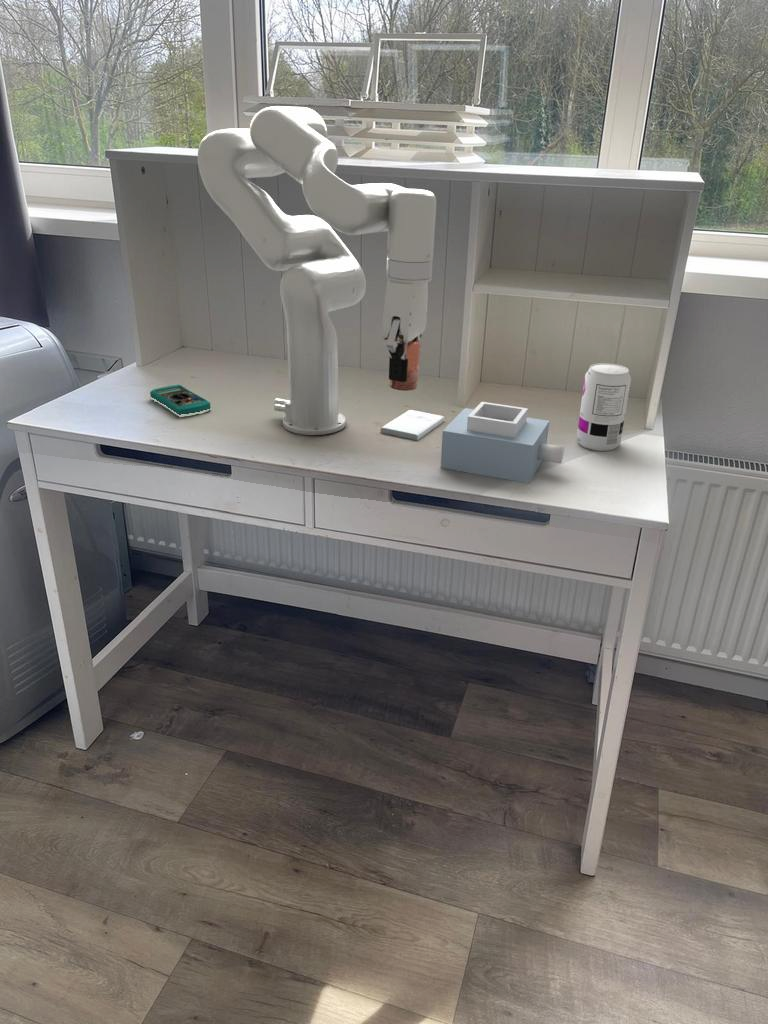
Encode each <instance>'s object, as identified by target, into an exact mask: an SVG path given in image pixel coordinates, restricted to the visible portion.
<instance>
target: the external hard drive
mask: <svg viewBox="0 0 768 1024" xmlns="http://www.w3.org/2000/svg"><path fill="white" fill-rule="evenodd" d="M443 421H444V422H445V416H443V415H440V414H434V413H428V412H424V411H419V410H414V409H408V410H407V411H406V412H404V413H402V414H400V415H399V416H398V417H396V418H394V419H392V420H391V421H389V422H388V423H386V424H384V425H383V426H382V427H380V433H382V434H387V435H391V436H394V437H395V436H396V437H400V438H405V439H409V440H415V441H419V440H421V439H422V438H423V437H424V436H426V435H427V434H428V433H430V432H432V431H433V430H434V429H435V428H437V427H438V426H440V424H442V423H444V422H443Z"/></svg>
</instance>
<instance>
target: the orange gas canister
mask: <svg viewBox="0 0 768 1024" xmlns="http://www.w3.org/2000/svg"><path fill="white" fill-rule="evenodd" d="M403 339H404V337H398V340H401V341H404V340H403ZM420 342H421V340H420V341H419V340H417V339H413V340H411V341H409V342H408V348H407V355H406V359H408V370H407V381H406V382H399V381H393V380H390V379H389V381H388V383H389V385H388V386H389V388H391V389H393V390H397V391H404V392H405V391H414V390H416V389H417V388H418V386H419V383H418V381H419V371H418V370H420V356H419V354H420V353H421V350H420V349H421V347H420ZM398 346H400V348H401V350H402V347H403V344H398Z"/></svg>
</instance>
